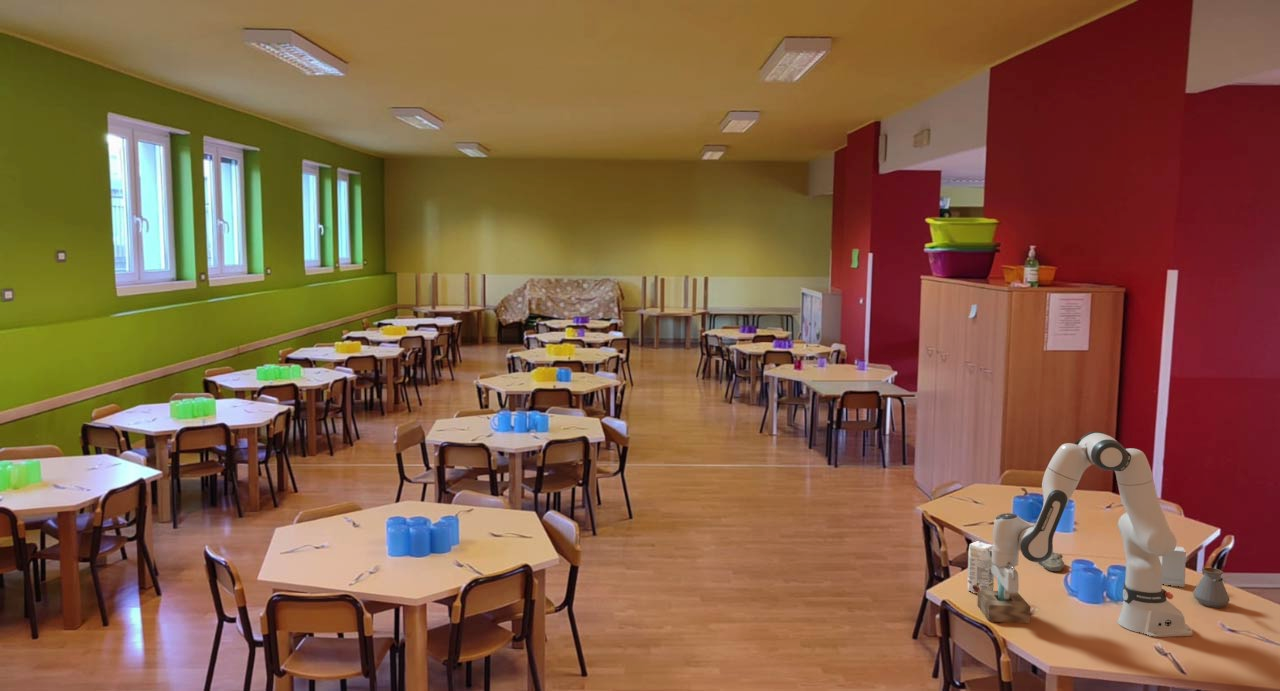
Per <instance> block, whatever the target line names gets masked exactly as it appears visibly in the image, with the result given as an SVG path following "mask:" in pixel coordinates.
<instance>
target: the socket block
mask: <svg viewBox="0 0 1280 691" xmlns="http://www.w3.org/2000/svg"><path fill="white" fill-rule="evenodd" d="M976 604H977V605H976V606H977V607H978V609H979V608H980V609H979V610H980V612H982V614H983V615H985V616H984V617H985V618H986V620H987V621H988V622H994V621H995V622H996V623H997V622H1000V623H1019V622H1026V623H1025V624H1029V623H1028V622H1030V620H1031V606H1030V604H1029V603H1028V602H1027V601H1026V600H1025V599H1024V598H1023V596H1022V595H1021V594H1020V593H1019V591H1018V592H1017V593H1010V594H1009V601H998V590H993V591H986V590H978V594H977V603H976ZM995 622H994V623H995Z"/></svg>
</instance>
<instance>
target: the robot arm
mask: <svg viewBox="0 0 1280 691" xmlns="http://www.w3.org/2000/svg"><path fill="white" fill-rule="evenodd" d="M1092 465H1095V466H1096V467H1097V468H1098V469H1101V470H1103V471H1114V473H1115V477H1116V481H1117V482H1116V484H1117V487H1118V488H1117V489H1118V492H1119V497H1120V500H1121V505H1122V506H1123V508H1124V510H1125V512H1124V513H1123V514H1121V516H1120V517H1119V518H1118V521H1117V527H1118V531H1119V532H1120V535H1121V539H1122V544H1123V551H1124V557H1125V558H1124V559H1125V578H1124V579H1125V580H1124V583H1123V591H1122V599H1123V603H1122V608H1121V611H1120V614H1119V617H1118V620H1117V623H1118V624H1119V625H1120V626H1121V627H1123V628H1125V629H1127V630H1129V631H1132V632H1134V633H1135V632H1136V633H1139V632H1140V633H1139V634H1143V633H1144V634H1143V635H1145V634H1147V635H1146V636H1148V635H1149V637H1151V636H1154V637H1153V638H1156V637H1155V636H1159V637H1158V638H1167V637H1185V636H1186V637H1190V636H1193V630H1192V628H1191V627H1190V626H1189V625H1188V624H1186V620H1185V615H1184V613H1182V611H1181V610H1180V609H1179V608H1177V607H1176V606H1175V605H1174V604H1172V603H1171V602H1170V601H1169V600H1173V598H1174V595H1173V594H1172V593H1171V592H1169V591H1167V590H1165V589H1164V588H1163V587H1162V586H1163V585H1162V575H1163V568H1162V565H1161V562H1160V556H1167V555H1169V554H1171V553H1172V552H1173V551H1174V550H1175V548H1176V547H1177V544H1178V543H1177V538H1176V536H1175V534H1174V533H1173V531H1172V529H1171V528H1170V525H1169V523H1168V521H1167V518H1166V516H1165V513H1164V512H1163V509H1162V506H1161V504H1160V502H1159V499H1158V494H1157V490H1156V485H1155V481H1154V476H1153V473H1152V469H1151V465H1150V463H1149V460H1148V458H1147V456H1146V454H1145V453H1144V451H1142V450H1140V449H1138V448H1133V447H1132V448H1129V447H1128V448H1125V447H1124V445H1122V444H1121V442H1119V441H1118V440H1116V439H1115V438H1114V437H1112V436H1110V435H1108V434H1106V433H1105V432H1102V431H1089V432H1088V433H1085V434H1084V435H1083V436H1082V437H1080V439H1078V440H1077V441H1076V442H1074V443H1071V442H1068V443H1067V442H1066V443H1062V444H1061V445H1060V446H1059V447H1058V449H1057V450H1056V452H1055V453H1054V454H1053V455H1052V457H1051V459H1050V461H1049V463H1048V465H1047V467H1046V469H1045V471H1044V475H1043V477H1042V481H1041V482H1042V483H1041V488H1042V495H1043V504H1042V509H1041V510H1040V513H1039V515H1038V518H1037V521H1036V523H1032V522H1028V521H1026V520H1025V519H1022V518H1021V517H1020V516H1019V515H1017V514H1015V513H1009V512H1008V513H1007V512H1006V513H1002V514H999V515H998V516H997V517H995V519H994V521H993V529H992V539H993V540H992V541H993V543H992V545H993V547H992V550H989V555H990V556H991V558H990V564H991V572H992V574H993V575H994V579H996V580H997V585H998V586H999V577H1000V584H1001V585H1002V586H1003V587H1004V592H1003V597H1004V598H1005V599H1009V594H1010V593H1017V592H1018V593H1019V573H1018V571H1017V570H1016V569H1015V567H1017V566H1018V565H1019V557H1020V555H1019V554H1020V552H1021V554H1022V555H1023V557H1024V558H1025V559H1026V560H1028V561H1030V562H1033V563H1039V562H1043V561H1045V560H1047V559H1048V558H1049V557H1050V556H1051V554H1052V551H1053V552H1054V550H1053V549H1054V548H1053V539H1054V536H1055V533H1056V530H1057V528H1058V526H1059V524H1060V520H1061V518H1062V516H1063V513H1064V511H1065V508H1066V507H1067V505H1068V503H1069V501H1070V499H1071V497H1072V496H1073V494H1074V493H1075V491H1076V488H1077V487H1078V485H1079V482H1080V481H1081V478H1082V476H1083V474H1084V473H1085V471H1086V469H1088V468H1089V467H1091V466H1092ZM1168 599H1169V600H1168Z"/></svg>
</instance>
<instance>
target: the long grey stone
mask: <svg viewBox="0 0 1280 691" xmlns="http://www.w3.org/2000/svg"><path fill="white" fill-rule="evenodd" d="M1063 557H1064V556H1063V554H1061V553H1057V552H1056V553H1055V552H1054V550H1053V551H1052V554H1051V556H1050V557H1049V558H1048V559H1047V560H1045V561H1043V562H1038V564H1039V565H1040V566H1041V567H1042V566H1043V567H1044V568H1043V567H1042V568H1043V569H1045V568H1046V570H1048V571H1050V572H1061V571H1062V570H1064V569H1065V562H1064V561H1063Z"/></svg>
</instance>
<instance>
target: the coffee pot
mask: <svg viewBox="0 0 1280 691" xmlns="http://www.w3.org/2000/svg"><path fill="white" fill-rule="evenodd" d="M1201 571H1202V573H1203V576H1202V577H1201V579H1200V580H1199V582H1198V583H1197V585H1196V587H1195V588H1194V590H1193V591H1192V596H1193V598H1194V599H1195V600H1196V601H1198V603H1199V604H1201V605H1202V606H1206V607H1209V608H1216V609H1217V608H1223V607H1224V606H1227V604H1229V602H1230V600H1231V599H1230V596H1229V594H1228V591H1227V589H1226V587H1225V583H1224V582H1223V581H1225V578H1222V575H1223V574H1224V572H1223V570H1221V569H1218V568H1216V567H1202V568H1201Z"/></svg>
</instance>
